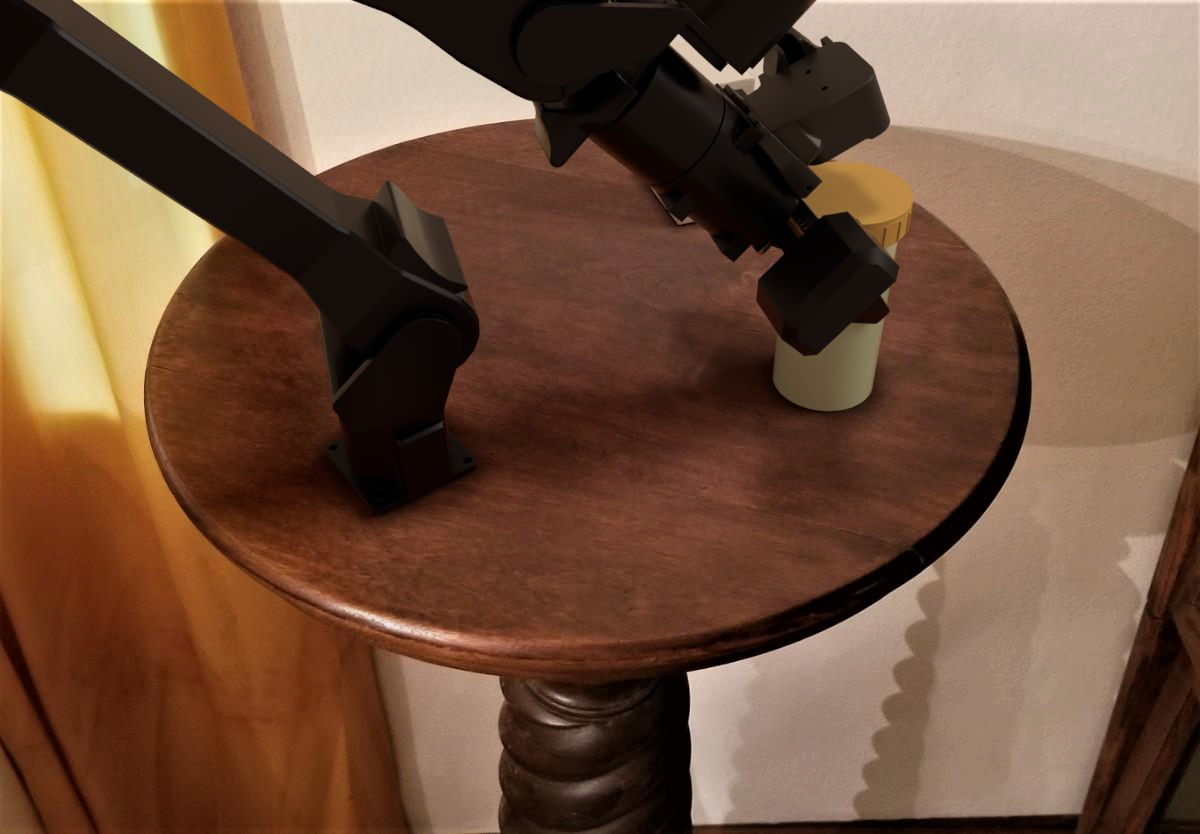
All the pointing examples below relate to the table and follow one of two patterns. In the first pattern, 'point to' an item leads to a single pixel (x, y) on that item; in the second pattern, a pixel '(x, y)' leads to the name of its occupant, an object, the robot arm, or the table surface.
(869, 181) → the jar lid
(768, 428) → the table surface
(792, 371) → the jar
